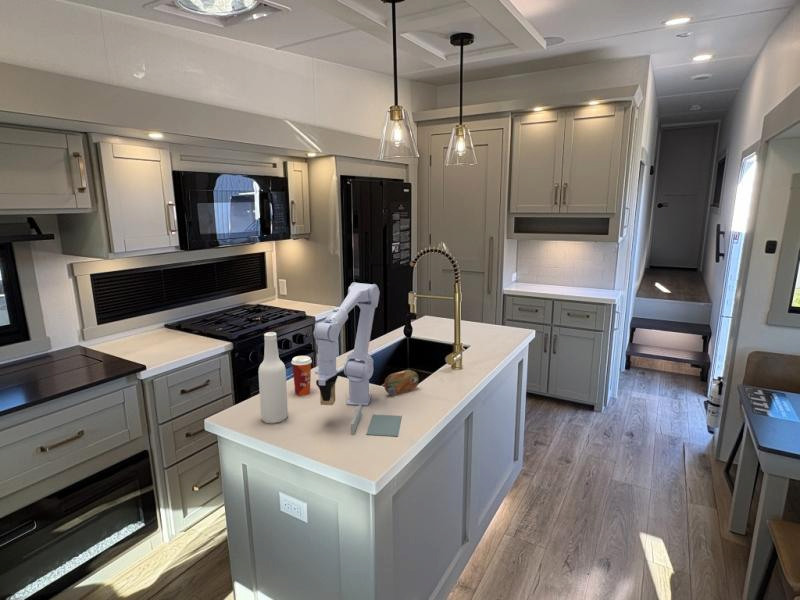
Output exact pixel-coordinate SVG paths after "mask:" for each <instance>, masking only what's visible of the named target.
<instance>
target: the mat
mask: <svg viewBox="0 0 800 600" xmlns="http://www.w3.org/2000/svg"><path fill="white" fill-rule="evenodd" d="M402 416H403V415H392V414H376V413H375V414H373V413H372V417H371V418H370V422H369V425H368V428H367V430H366V434H365V435H366V436H375V437H376V436H378V437H394V438H395V437H396V438H397V437H399V431H400V425H401V422H402V421H401V420H402Z"/></svg>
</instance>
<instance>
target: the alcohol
mask: <svg viewBox="0 0 800 600" xmlns="http://www.w3.org/2000/svg"><path fill="white" fill-rule="evenodd" d="M277 335H278V334H277V332H275V331H269V332H266V333H264V334H263V336H264V337H263V339H264V352H263V353H264V355H263V361H262V362H261V363H260V364H259V367H258V371H257V373H258V388H259V401H260V402H259V403H260V404H259V405H260V419H261V420H262V421H263V422H264V423H266V422H267V423H266V424H278V423H277V422H279V423H281V421H282V422H284V421H285V420H286V419H287V418H288V415H289V413H288V411H289V410H288V391H287V390H288V388H287V369H286V366H285V363H284V362H283V361H282V360H281V359H280V357H279V348H278V342H277V340H278V339H277V338H278V336H277ZM283 420H284V421H283Z"/></svg>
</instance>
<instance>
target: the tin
mask: <svg viewBox="0 0 800 600" xmlns="http://www.w3.org/2000/svg"><path fill="white" fill-rule="evenodd" d="M419 381H420V377H419V375H418V373H417V372H416V371H415V370H411V369H406V370H402V371H398V372H393V373H390V374H389V375H387V377H386V378H385V379H384V384H383V387H384V389H385V392H386V393H387V394H389V395H391V396H393V397H395V396H400V395H403V394H407V393H409V392H412V391H414V390H415V389H417V387H418V385H419Z"/></svg>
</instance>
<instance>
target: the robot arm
mask: <svg viewBox="0 0 800 600" xmlns="http://www.w3.org/2000/svg"><path fill="white" fill-rule="evenodd" d="M379 301H380V289H379V287H378V285H377V284H376V283H373V284H370V283H360V282H356V281H355V282H352V283H350V285H349V286H348V289H347V295H346V297H345V298H344V300H343V301H342V303H341V304H340V305H339V306H336V307H334V308H333V309H332V310H331V312H330V313H329V314H328V315H327V317H326V318H324V320H323V321H321V322H318V323H317V324H316V325H315V326H314V331H313V337H314V339H315V344H316V345H317V352H318V353H317V359H318V363H317V365H318V369H316V370H315V371H314V373H315V375H317V376H318V379H316V381H315V384H316V386H317V387H318V389H319V393H320V392H321V395H322V399H323V401H329V400H330V397H331V389H332V386H333V383H335V384H336V383H337V379H338V377H339V372H338V369H337V345H336V344H337V343H336V341H337V340H338V339H339V335H340V332H341V330H342V329H341V328H342V326H343V325H345V323H346V321H348V319H349V315H348V314H349V313H350V311H352V310H353V309H354V308H355V306H358V307H359V309H360V312H359V318H358V324H357V331H356V337H355V342H354V347H353V348H354V349H353V351H352V352H351V353H349V354H348V355H347V356H346V359H345V360H346V361H345V362H344V365H343V373H344V375H345V376H346V379H348V399H347V401H346V403H345V404H346V405H347V406H349V405H350V406H351V405H353V406H359V405H362V406H368V405H369V402H370V401H371V398H372V396H373V395H372V393H370V379H371V378H372V376H373V375H374V374H373V373H374V359H373V358H372V356H371V355H370V354H369V348H370V341H371V335H372V330H373V322H374V316H375V312H376V308H378V304H379Z"/></svg>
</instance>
